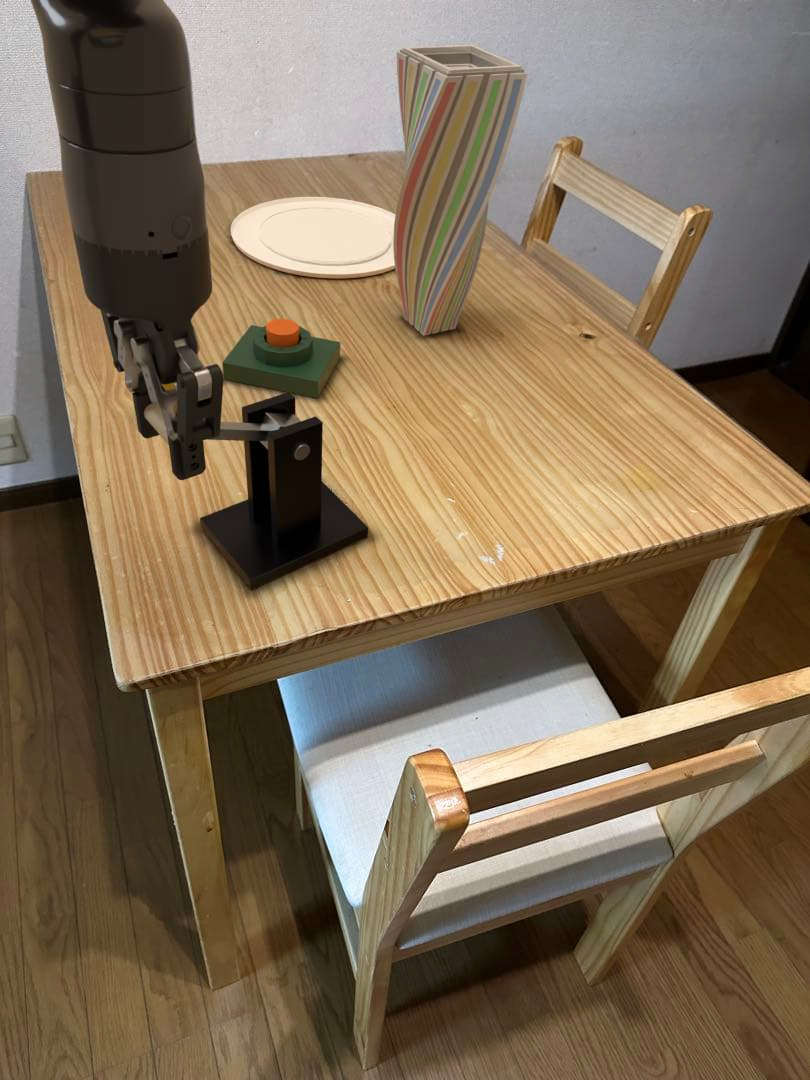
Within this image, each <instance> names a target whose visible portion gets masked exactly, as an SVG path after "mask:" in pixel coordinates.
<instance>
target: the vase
mask: <svg viewBox="0 0 810 1080" xmlns="http://www.w3.org/2000/svg"><path fill="white" fill-rule="evenodd" d="M522 67H523V66H522V65H520V64H517V63H515V62H513V61H510V60H509V59H506V58H504V57H501V56H499V55H498V54H497V55H496V54H494V53H492V52H490V51H487V50H486V49H483V48H481V47H478V46H476V45H473V44H459V45H434V46H433V45H432V46H431V45H430V46H404V47H402V48H401V49H399V51H396V74H397V75H396V76H397V89H398V101H399V112H400V121H401V127H402V134H403V135H402V136H403V141H404V153H405V156H404V174H403V180H402V183H401V188H400V192H399V197H398V201H397V204H396V210H395V215H396V216H395V223H394V238H393V247H394V263H395V269H394V270H395V276H396V281H397V282H396V283H397V288H398V292H399V296H400V302H401V305H402V306H401V307H402V313H403V314H402V315H403V319H404V320H405V321H406V322H408V323H409V325H411V326H412V327H414V329H416V330H417V331H418V332H419V333H420V334H421V336H429V335H433V334H437V333H440V332H446V331H451V330H456V328H457V325H458V322H459V318H460V316H461V314H462V310H463V308H464V306H465V303H466V301H467V298H468V295H469V293H470V291H471V288H472V285H473V282H474V279H475V275H476V272H477V270H478V266H479V261H480V258H481V254H482V251H483V246H484V240H485V236H486V230H487V222H488V213H489V203H490V202H489V201H490V198H491V196H492V194H493V191H494V189H495V187H496V184H497V181H498V179H499V176H500V174H501V171H502V167H503V164H504V161H505V159H506V155H507V152H508V149H509V146H510V143H511V140H512V136H513V133H514V129H515V125H516V121H517V118H518V114H519V110H520V107H521V103H522V100H523V94H524V90H525V86H526V82H527V77H528V73H527V72H525V69H524V68H522Z"/></svg>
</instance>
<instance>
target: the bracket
mask: <svg viewBox="0 0 810 1080" xmlns="http://www.w3.org/2000/svg"><path fill="white" fill-rule="evenodd" d="M265 413H280V414H294V415H295V416H296V417H297V414H296V396H295V395H293V393H290V392H284V393H281V394H278V395H274V396H272V397H269V398H266V399H261V400H259V401H257V402H253V403H250V404H246V405H244V406H241V417H242V418H241V419H242V420H241V421H242V423H259V424H262V422H263V419H264V416H265ZM300 421H301V422H298V423H295V424H292V425H289V426H286V427H283V428H280V429H278V430H275V431H272V432H269V433H267V435H268V449H267V448H266V447H265V446H264V445H263V444H262V443H261V442H260V441H243V446H244V448H243V449H244V460H245V461H244V462H245V463H244V464H245V475H246V490H247V499H245V500H243V501H240V502H238V503H235V504H231V505H230V506H227V507H225V508H222V509H219V510H217V511H214V512H212V513H209V514H207V515H204V516H202V517H200V518H199V523H200V529H201V530H202V531H203V532H204V534H205V535H206V536H207V537H208V539H210V541H211V542H212V543H213V545H214V546H215V547H216V548H217V549H218V551H219V552H220V554H222V556H223V558H225V560H226V561H227V563H229V565H230V566H231V567H232V568H233V570H234V571H235V572H236V573H237V574H238V576H239V577H240V578H241V579H242V581H243V582H244V583H245V584H246V586H247V587H248V589H250V590H254V589H256V588H259V587H261V586H263V585H265V584H267V583H269V582H272V581H274V580H277V579H278V578H281V577H283V576H285V575H287V574H289V573H291V572H294V571H296V570H298V569H300V568H303V567H304V566H307V565H309V564H312V563H314V562H316V561H318V560H320V559H322V558H324V557H327V556H329V555H331V554H333V553H336V552H337V551H340V550H342V549H344V548H346V547H349V546H351V545H353V544H355V543H357V542H359V541H360V542H361V541H362V540H364V539H366V538H368V536H369V527H368V525H367V524H366V523H365V522H363V520H362V519H360V517H358V515H357V514H356V513H355V512H354V511H352V510H351V508H349V507H348V506H347V505H346V504H345V502H344V501H343V500H341V498H340V497H339V496H337V494H336V493H334V492H333V490H331V488H330V487H328V486H327V484H325V483H324V482H323V478H322V477H323V432H324V431H323V430H324V427H323V425H324V424H323V421H322V420H321V419H320V418H319V417H318V416H315V415H314V416H312V417H310V418H306V419H304V420H300Z"/></svg>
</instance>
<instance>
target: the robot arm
mask: <svg viewBox="0 0 810 1080" xmlns="http://www.w3.org/2000/svg"><path fill="white" fill-rule="evenodd" d="M30 3H31V6H32V8H33V11H34V14H35V17H36V21H37V23H38V27H39V30H40V34H41V39H42V46H43V48H42V49H43V58H44V65H45V69H46V70H45V71H46V74H47V79H48V84H49V89H50V96H51V100H52V106H53V112H54V115H55V121H56V125H57V131H58V138H59V146H60V147H59V149H60V164H61V166H60V167H61V177H62V182H63V183H62V184H63V188H64V189H63V190H64V193H65V199H66V204H67V208H68V209H67V210H68V214H69V219H70V224H71V229H72V234H73V239H74V244H75V250H76V254H77V255H76V256H77V259H78V265H79V269H80V275H81V280H82V285H83V286H82V287H83V291H84V294H85V296H86V298H87V300H88V301H89V302H90V303H91V304H92V305H93V306H94V307H95V308H97V310H100V315H101V318H102V322H103V326H104V329H105V334H106V337H107V341H108V345H109V349H110V353H111V356H112V357H111V358H112V363H113V367H114V368H115V369H116V371H117V372H118V373H123V372H124V384H125V387H126V389H128V391H129V393H131V396H132V401H133V407H134V413H135V419H136V426H137V430H138V432H139V434H140V435H141V436H142V437H143V438H144V439H151V438H154V437H155V438H156V437H157V436H160V435H159V433H158V432H157V431H156V430H155V429H154V427H153V426H152V425H151V424H150V423H149V422H148V420H147V419H146V418H145V416H144V410H145V408H146V407H147V406H148V405H149V404H152V403H153V404H154V405H156V406H159V407H160V408H161V411H162V415H163V419H164V422H165V426H166V432H167V436H168V444H169V445H168V444H167V445H168V450H169V457H170V464H171V471H172V474H173V475H174V476H175V478H176V479H177V480H179V481H185V480H189V479H191V478H194V477H197V476H200V475H201V474H203V473H205V471H206V468H207V465H206V454H205V446H204V441H208V440H207V439H210V438H215V437H218V436H219V435H220V425H221V422H222V409H223V395H224V394H223V393H224V375H223V370H222V369H221V367H220V366H219V364H217V363H214V364H210V365H207V366H205V365H204V364H203V363H202V361H201V359H200V358H199V357H200V356H199V352H200V349H201V347H200V343H199V339H198V338H199V337H198V334H197V330H196V329H195V326H194V325H193V322H192V319H193V317H194V315H195V314H196V313H197V312H198V310H199V309H201V307H203V306H204V305H205V304H206V303H207V302H208V301H209V299H210V298H211V296H212V292H213V277H212V276H213V275H212V264H211V263H212V262H211V252H210V238H209V237H210V236H209V224H208V212H207V199H206V186H205V177H204V176H205V175H204V171H203V165H202V161H201V158H200V153H199V147H198V138H197V134H196V133H197V128H196V117H195V115H196V114H195V103H194V102H195V101H194V92H193V91H194V90H193V81H192V77H193V76H192V70H191V69H192V67H191V60H190V53H189V46H188V41H187V37H186V34H185V30H184V28H183V25H182V24H181V22H180V20H179V19H178V17H177V16H176V14H175V13H174V12H173V11H172V9H171V8H170V6H169V5H168V3H166V2H165V0H30ZM174 382H176V383H174ZM170 383H174V387H175V388H174V389H171V390H167V391H166V390H165V388H164V387H163V386H162V384H163V385H166V384H170ZM176 404H177V413H175V411H174V407H175V405H176Z"/></svg>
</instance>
